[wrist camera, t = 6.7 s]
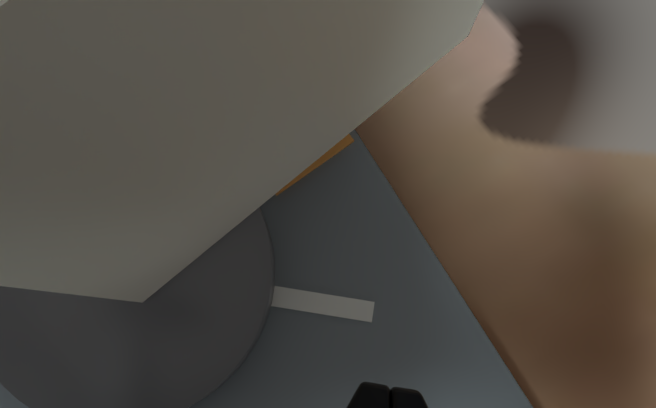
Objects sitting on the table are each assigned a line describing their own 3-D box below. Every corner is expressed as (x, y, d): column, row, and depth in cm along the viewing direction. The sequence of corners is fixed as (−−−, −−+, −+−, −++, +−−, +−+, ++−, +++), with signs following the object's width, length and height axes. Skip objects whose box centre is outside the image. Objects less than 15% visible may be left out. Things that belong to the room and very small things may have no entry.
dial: (103, 486, 14) (-734, 1064, 3) (-58, 257, 15) (-1073, 82, 4) (522, 127, 15) (951, -330, 5) (347, -53, 16) (368, -751, 6)
